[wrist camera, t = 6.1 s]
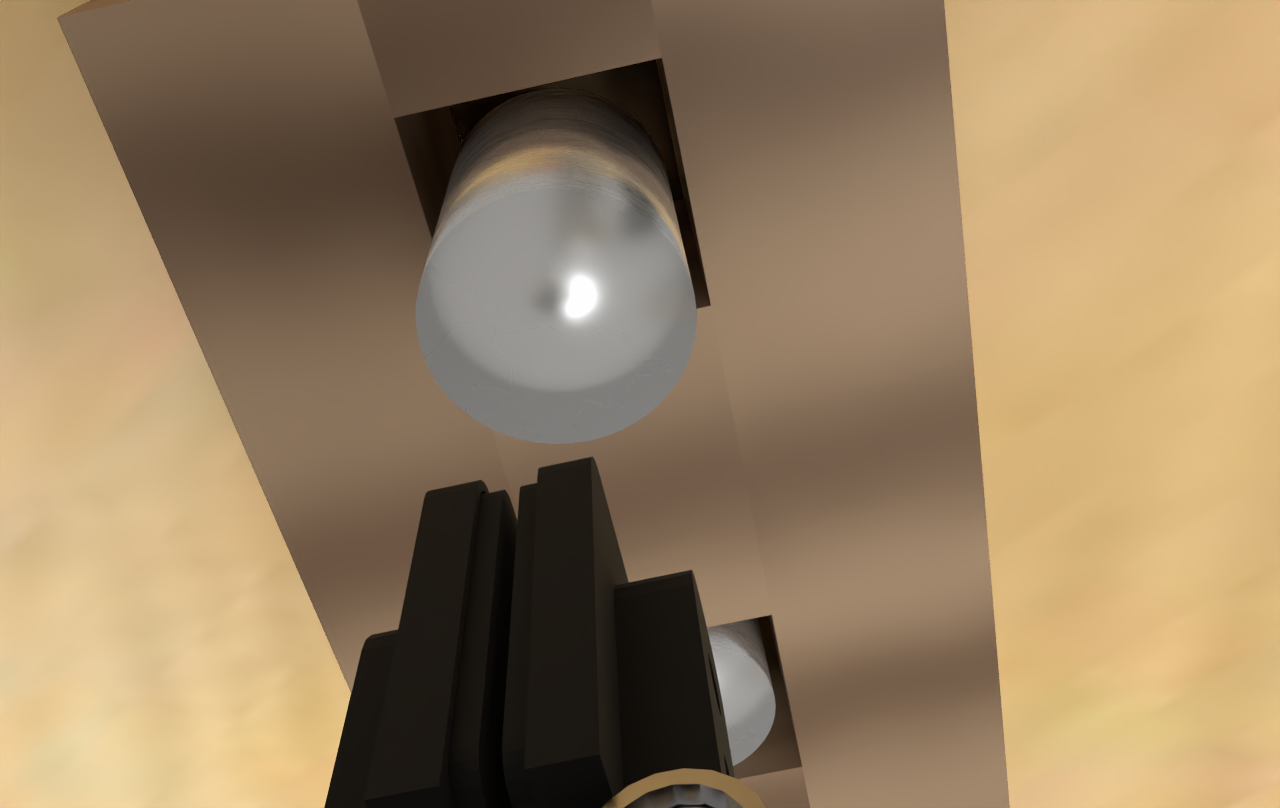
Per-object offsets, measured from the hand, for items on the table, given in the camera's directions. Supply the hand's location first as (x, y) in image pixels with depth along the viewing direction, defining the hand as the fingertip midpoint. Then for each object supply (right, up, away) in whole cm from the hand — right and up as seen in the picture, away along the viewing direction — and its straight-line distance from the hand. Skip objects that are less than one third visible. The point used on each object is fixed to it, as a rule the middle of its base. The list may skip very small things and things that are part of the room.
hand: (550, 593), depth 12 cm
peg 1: (-1, +6, +10) cm, 12 cm away
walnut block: (0, +3, +17) cm, 17 cm away
